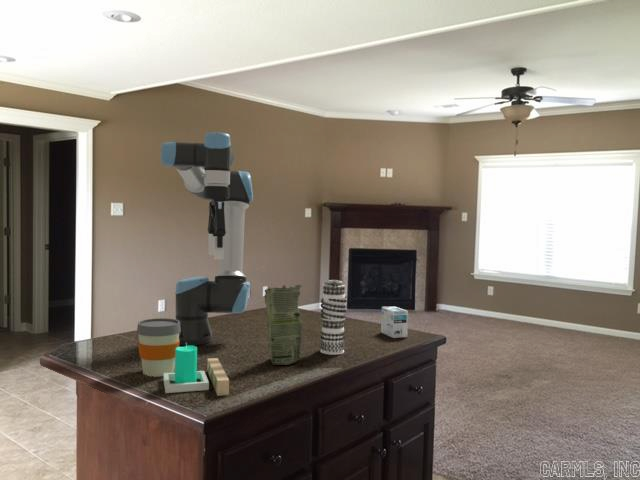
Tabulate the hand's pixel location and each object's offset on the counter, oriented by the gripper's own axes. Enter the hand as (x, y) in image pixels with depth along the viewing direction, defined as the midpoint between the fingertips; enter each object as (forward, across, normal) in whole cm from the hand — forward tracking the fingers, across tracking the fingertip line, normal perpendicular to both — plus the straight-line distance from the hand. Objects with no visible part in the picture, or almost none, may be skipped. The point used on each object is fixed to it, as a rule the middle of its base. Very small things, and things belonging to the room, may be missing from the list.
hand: (215, 257), depth 166 cm
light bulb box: (+35, -33, +76) cm, 90 cm away
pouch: (+35, -6, +23) cm, 42 cm away
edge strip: (+35, +11, 0) cm, 36 cm away
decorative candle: (+35, -14, +43) cm, 57 cm away
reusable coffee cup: (+35, -3, -16) cm, 39 cm away
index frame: (+35, +11, -9) cm, 38 cm away
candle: (+35, +11, -9) cm, 38 cm away
